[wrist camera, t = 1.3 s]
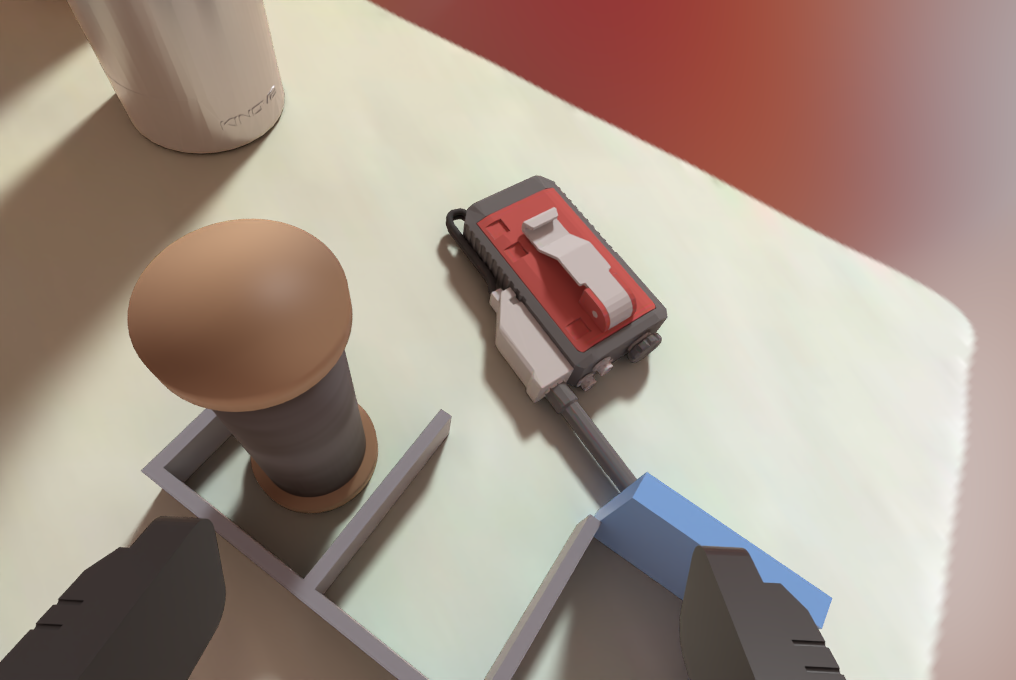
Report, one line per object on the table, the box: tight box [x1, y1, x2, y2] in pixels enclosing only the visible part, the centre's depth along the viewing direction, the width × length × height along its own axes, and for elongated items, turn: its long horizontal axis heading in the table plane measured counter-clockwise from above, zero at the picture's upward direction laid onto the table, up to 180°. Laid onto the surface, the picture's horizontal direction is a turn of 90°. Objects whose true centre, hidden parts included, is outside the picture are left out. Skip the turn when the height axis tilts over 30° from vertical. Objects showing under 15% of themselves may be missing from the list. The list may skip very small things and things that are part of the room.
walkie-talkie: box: [446, 176, 667, 492], centre depth 32 cm, size 9×4×20 cm
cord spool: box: [128, 219, 378, 513], centre depth 22 cm, size 6×6×14 cm
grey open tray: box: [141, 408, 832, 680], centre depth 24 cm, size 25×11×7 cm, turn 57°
